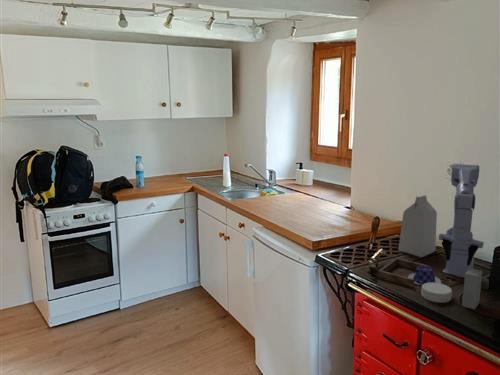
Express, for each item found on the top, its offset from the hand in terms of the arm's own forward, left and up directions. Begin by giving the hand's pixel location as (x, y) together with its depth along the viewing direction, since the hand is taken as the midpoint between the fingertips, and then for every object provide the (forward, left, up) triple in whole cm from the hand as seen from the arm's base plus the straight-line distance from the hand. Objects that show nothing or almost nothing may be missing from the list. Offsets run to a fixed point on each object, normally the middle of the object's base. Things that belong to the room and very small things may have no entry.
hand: (458, 262), depth 157 cm
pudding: (+12, 0, -11) cm, 16 cm away
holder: (+21, 0, -10) cm, 23 cm away
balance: (+32, -1, -10) cm, 33 cm away
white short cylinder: (+4, +11, -11) cm, 16 cm away
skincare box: (-7, +10, -11) cm, 16 cm away
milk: (+26, -31, -11) cm, 42 cm away
